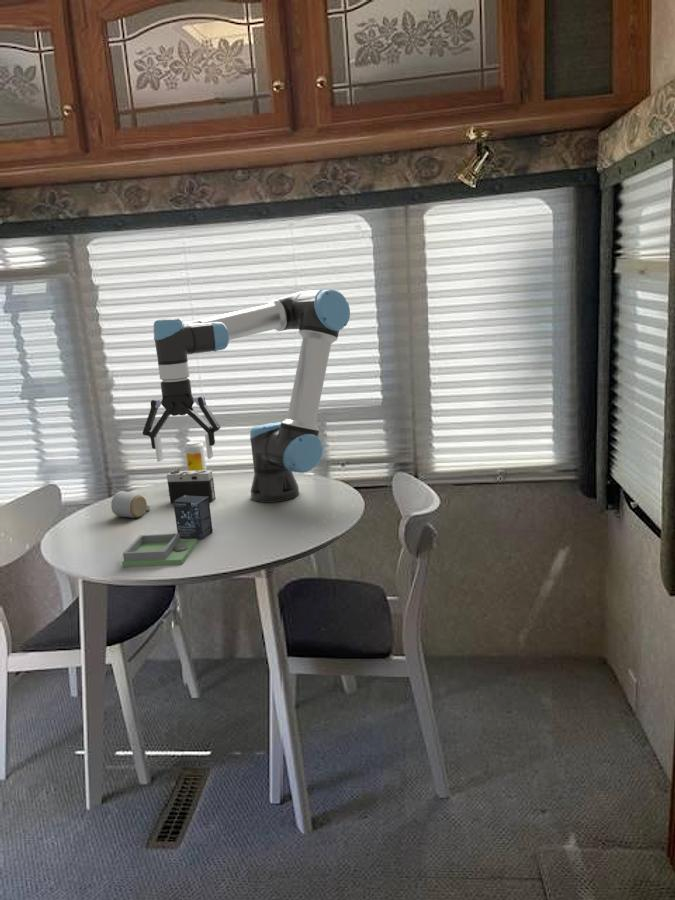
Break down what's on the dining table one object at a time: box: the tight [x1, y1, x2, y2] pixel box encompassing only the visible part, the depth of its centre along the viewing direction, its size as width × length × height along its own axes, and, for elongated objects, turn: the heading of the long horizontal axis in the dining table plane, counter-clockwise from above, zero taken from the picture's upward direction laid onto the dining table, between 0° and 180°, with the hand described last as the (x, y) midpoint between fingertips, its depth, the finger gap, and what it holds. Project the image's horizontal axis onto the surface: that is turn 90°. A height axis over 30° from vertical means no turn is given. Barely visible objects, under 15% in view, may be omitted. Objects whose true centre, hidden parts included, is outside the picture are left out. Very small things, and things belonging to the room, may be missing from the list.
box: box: [173, 495, 213, 540], centre depth 188 cm, size 8×6×11 cm
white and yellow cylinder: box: [184, 440, 207, 471], centre depth 237 cm, size 6×6×15 cm
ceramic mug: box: [110, 490, 151, 519], centre depth 210 cm, size 11×8×8 cm
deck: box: [122, 532, 198, 567], centre depth 176 cm, size 15×14×3 cm
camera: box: [166, 469, 216, 504], centre depth 221 cm, size 14×8×10 cm, turn 80°
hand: (185, 459), depth 184 cm, fingers open, 13 cm apart
